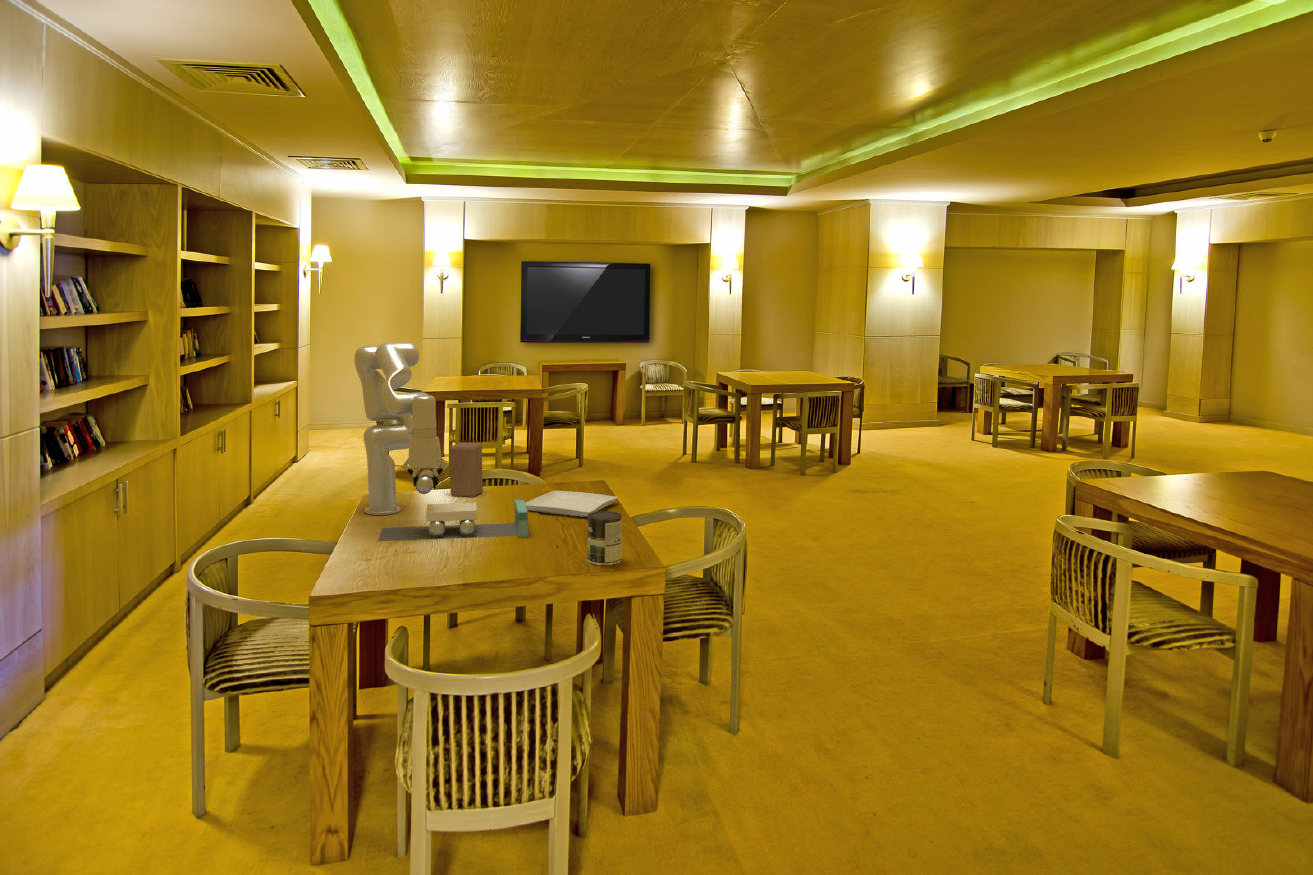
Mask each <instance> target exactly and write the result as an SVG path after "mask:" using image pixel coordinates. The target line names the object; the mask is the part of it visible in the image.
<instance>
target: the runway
mask: <svg viewBox="0 0 1313 875" xmlns="http://www.w3.org/2000/svg"><path fill="white" fill-rule="evenodd" d="M525 503H526V502H525V499H524V498H514V522H508V523H503V522H502V523H482V524H481V523H479V524H477V523H475V533H474V534H473V535H472V536H471V537H464V536H462V535H461V533H460V524H452V525H451V524H450V525H449V524H448V525H445V532H444V535H443V536H442V537H440V538H433V537H431V536H430V534H429V525H428V526H427V525H426V526H421V525H420V526H402V527H401V526H398V527H397V526H396V527H395V526H394V527H382V528H381V530H380V533H379V536H378V539H377V542H388V541H389V542H391V541H417V540H420V541H421V540H445V539H467V538H468V539H469V538H470V539H471V538H473V539H474V538H494V537H495V538H496V537H499V538H500V537H518V538H528V537H529V536H531V535H530V534H531V533H530V531H529V530H530V529H529V524H528V522H529V521H528V520H529V519H528V518H529V517H528V516H529V515H528V509H527V508H526V505H525Z"/></svg>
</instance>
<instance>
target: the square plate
mask: <svg viewBox="0 0 1313 875" xmlns="http://www.w3.org/2000/svg"><path fill="white" fill-rule="evenodd" d="M618 498H619V497H618V496H615V495H614V496H613V495H608V494H607V495H606V494H601V493H600V494H598V493H591V492H583V491H582V492H580V491H568V490H567V491H565V490H552V491H550V492H547V493H545V494H541V495H540V496H537V497H535V498H533V499H531V500H528V501H526V502H525V505H526V509H527V511H531V512H532V511H533V512H538V513H541V514H548V513H551V514H550V515H558V514H560V515H561V516H567V515H569V516H570V517H577V516H579V517H583V518H586V517H587V515H588V514H589V513H592V512H598V511H601V510H602V509H604V508H606V507H608V506H610V505H612V504H613V503H614V502H615V501H616V500H618ZM569 516H568V517H569Z"/></svg>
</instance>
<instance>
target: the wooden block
mask: <svg viewBox="0 0 1313 875" xmlns="http://www.w3.org/2000/svg"><path fill="white" fill-rule="evenodd" d="M482 445H483V444H481V443H476V442H475V443H474V442H458V443H456V444H454V445H450V447H449V469H450V470H449V472H450V473H449V474H450V479H449V480H450V495H451V497H460V496H463V497H462V498H464V497H465V498H474V497H477V496H478V495H479V494H481V493H483V489H484V488H483V486H484V485H483V446H482Z"/></svg>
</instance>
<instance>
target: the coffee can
mask: <svg viewBox="0 0 1313 875" xmlns="http://www.w3.org/2000/svg"><path fill="white" fill-rule="evenodd" d="M622 518H623V514H621V513H619V512H616V511H610V510H609V511H606V510H598V511H597V512H592V513H589V514H588V515H587V559H586V560H587V563H589V564H591V563H592V564H591V565H594V564H595V566H601V565H604V566H605V565H607V566H614V565H613V564H615V565H617V564H616V563H618V564H620V563H621V562H622ZM605 567H606V566H605Z"/></svg>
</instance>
